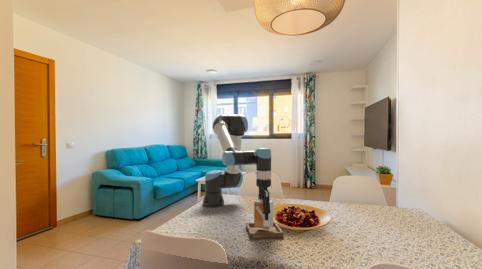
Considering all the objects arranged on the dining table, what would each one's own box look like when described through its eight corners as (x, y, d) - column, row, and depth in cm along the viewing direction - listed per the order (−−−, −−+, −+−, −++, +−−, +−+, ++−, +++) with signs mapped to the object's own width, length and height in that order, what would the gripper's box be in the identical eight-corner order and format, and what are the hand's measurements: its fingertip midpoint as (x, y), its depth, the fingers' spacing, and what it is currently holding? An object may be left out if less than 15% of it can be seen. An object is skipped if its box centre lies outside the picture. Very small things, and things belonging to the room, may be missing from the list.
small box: (254, 227, 117) (253, 201, 117) (259, 222, 122) (259, 198, 122) (268, 230, 113) (268, 203, 113) (273, 225, 119) (273, 200, 118)
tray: (246, 227, 124) (246, 223, 124) (275, 226, 126) (275, 221, 126) (250, 239, 110) (250, 234, 110) (283, 237, 112) (283, 232, 112)
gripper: (252, 174, 128) (252, 214, 128) (261, 183, 106) (261, 231, 106) (265, 174, 129) (265, 214, 129) (277, 182, 107) (277, 230, 107)
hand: (263, 222), depth 118 cm, fingers closed on small box, 10 cm apart
